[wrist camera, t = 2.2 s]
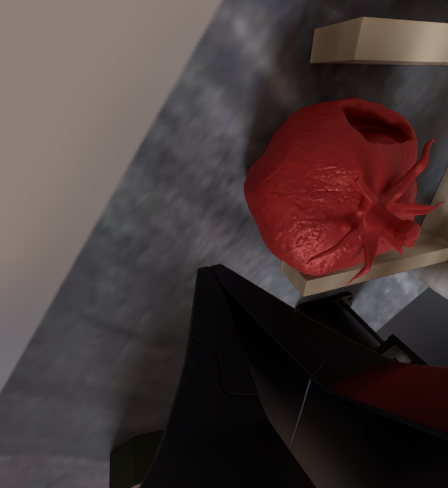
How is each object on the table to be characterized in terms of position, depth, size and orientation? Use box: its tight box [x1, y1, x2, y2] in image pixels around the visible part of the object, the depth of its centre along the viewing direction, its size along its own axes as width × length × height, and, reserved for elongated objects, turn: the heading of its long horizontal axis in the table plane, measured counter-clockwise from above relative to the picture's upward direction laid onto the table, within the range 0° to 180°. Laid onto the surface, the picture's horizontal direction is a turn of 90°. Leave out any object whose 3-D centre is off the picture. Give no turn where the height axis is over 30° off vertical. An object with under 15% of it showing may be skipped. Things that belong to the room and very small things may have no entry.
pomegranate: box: [244, 97, 445, 285], centre depth 15 cm, size 10×10×9 cm
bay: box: [280, 17, 448, 299], centre depth 19 cm, size 18×20×6 cm
